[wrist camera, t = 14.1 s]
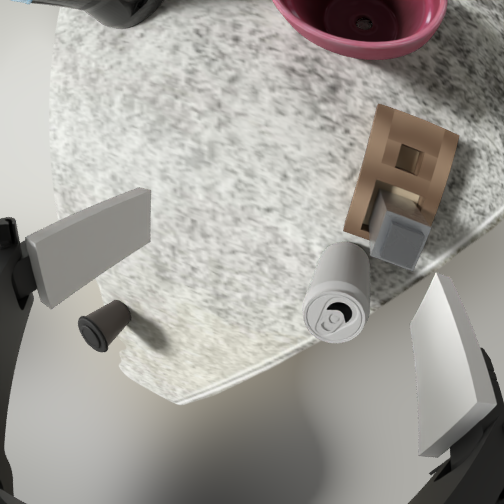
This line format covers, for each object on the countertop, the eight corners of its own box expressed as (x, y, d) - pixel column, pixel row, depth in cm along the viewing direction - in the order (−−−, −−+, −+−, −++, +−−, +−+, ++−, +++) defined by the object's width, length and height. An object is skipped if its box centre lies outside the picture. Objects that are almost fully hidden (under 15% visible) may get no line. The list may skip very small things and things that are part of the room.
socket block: (376, 106, 27) (378, 103, 24) (450, 135, 25) (459, 135, 22) (344, 222, 33) (343, 231, 30) (413, 246, 31) (417, 258, 28)
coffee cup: (111, 320, 58) (80, 344, 49) (104, 288, 55) (70, 313, 46) (138, 333, 56) (108, 362, 47) (133, 301, 52) (98, 329, 44)
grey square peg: (379, 188, 29) (388, 214, 20) (411, 200, 28) (434, 232, 19) (368, 221, 31) (370, 261, 22) (400, 232, 30) (414, 277, 21)
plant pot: (300, 77, 29) (265, 47, 18) (296, -20, 23) (262, -75, 12) (425, 88, 24) (460, 64, 13) (413, -13, 18) (428, -69, 7)
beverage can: (380, 259, 33) (384, 315, 23) (348, 295, 37) (338, 357, 26) (339, 229, 34) (327, 273, 24) (309, 267, 37) (285, 321, 27)
